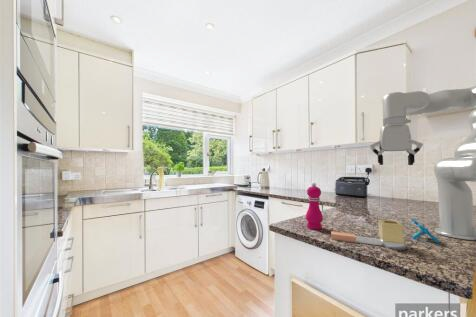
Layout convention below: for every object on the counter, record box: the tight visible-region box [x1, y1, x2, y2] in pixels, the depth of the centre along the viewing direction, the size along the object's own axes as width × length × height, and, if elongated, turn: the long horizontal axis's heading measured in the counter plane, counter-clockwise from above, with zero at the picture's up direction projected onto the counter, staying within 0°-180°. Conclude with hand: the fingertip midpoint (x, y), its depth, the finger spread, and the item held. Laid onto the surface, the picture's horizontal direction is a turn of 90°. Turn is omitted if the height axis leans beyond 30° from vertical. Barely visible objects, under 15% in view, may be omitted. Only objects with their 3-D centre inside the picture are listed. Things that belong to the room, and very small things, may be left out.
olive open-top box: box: [378, 219, 405, 244], centre depth 70 cm, size 6×6×6 cm
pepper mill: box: [305, 182, 324, 231], centre depth 90 cm, size 7×7×20 cm
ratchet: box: [330, 230, 406, 251], centre depth 73 cm, size 22×7×6 cm, turn 66°
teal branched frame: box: [411, 218, 440, 244], centre depth 76 cm, size 11×6×10 cm
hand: (395, 164), depth 82 cm, fingers open, 9 cm apart
